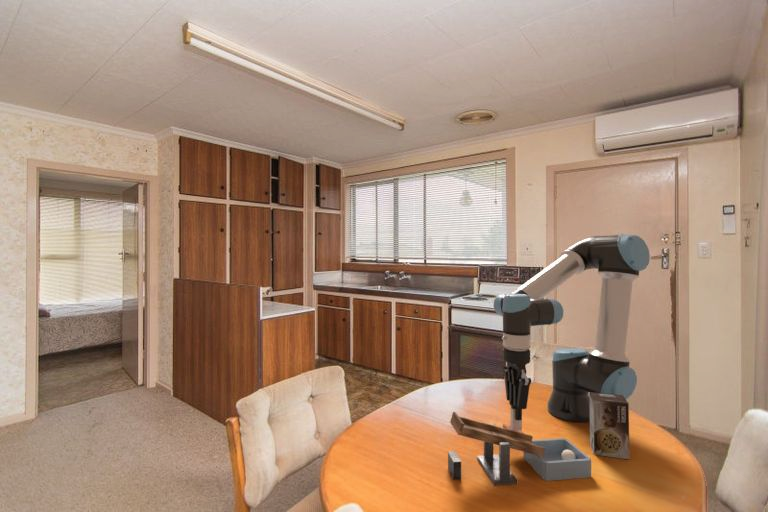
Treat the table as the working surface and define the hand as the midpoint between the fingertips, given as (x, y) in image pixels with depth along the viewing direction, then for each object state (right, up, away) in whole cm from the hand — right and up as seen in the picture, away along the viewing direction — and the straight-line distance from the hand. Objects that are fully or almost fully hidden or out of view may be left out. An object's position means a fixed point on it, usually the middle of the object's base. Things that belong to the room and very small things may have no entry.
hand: (516, 429), depth 108 cm
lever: (-9, +1, -5) cm, 10 cm away
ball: (+12, -5, -6) cm, 14 cm away
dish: (+9, -7, -6) cm, 13 cm away
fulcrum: (-13, -8, -8) cm, 17 cm away
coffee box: (+28, -7, +1) cm, 29 cm away
